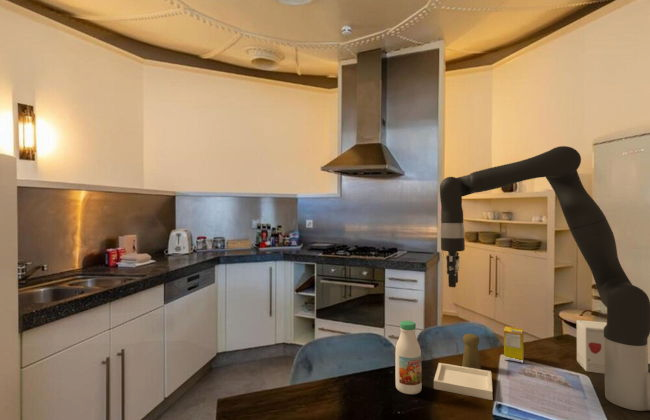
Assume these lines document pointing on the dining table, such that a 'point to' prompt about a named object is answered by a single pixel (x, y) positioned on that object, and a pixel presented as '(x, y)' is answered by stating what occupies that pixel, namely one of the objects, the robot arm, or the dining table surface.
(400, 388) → the milk bottle
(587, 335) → the supplement box
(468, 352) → the cork
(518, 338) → the supplement box
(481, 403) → the dining table surface
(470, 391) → the tray
